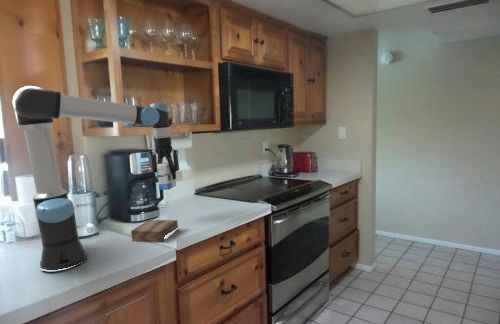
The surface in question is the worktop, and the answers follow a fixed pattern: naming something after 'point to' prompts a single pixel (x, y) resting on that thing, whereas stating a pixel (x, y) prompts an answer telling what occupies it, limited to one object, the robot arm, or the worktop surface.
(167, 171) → the ink box
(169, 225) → the walnut block
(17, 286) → the worktop surface
